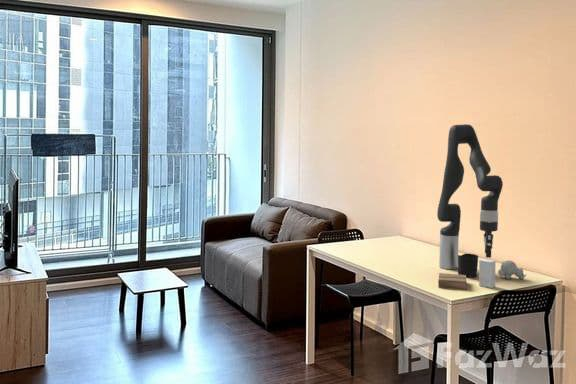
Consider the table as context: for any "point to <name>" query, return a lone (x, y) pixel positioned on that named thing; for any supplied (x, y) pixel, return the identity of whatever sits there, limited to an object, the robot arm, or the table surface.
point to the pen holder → (468, 265)
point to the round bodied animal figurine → (510, 270)
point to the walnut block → (452, 281)
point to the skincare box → (487, 273)
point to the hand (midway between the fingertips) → (487, 255)
